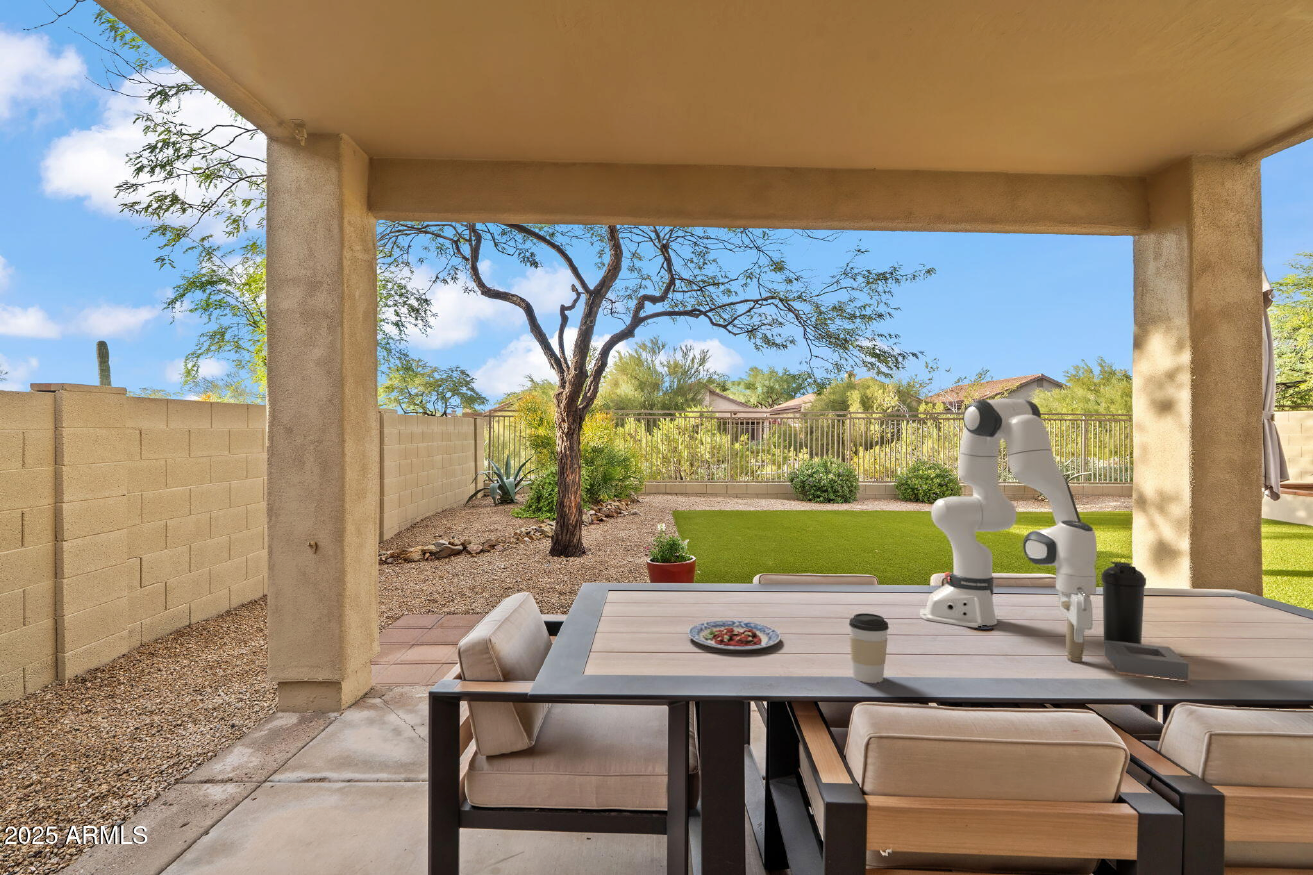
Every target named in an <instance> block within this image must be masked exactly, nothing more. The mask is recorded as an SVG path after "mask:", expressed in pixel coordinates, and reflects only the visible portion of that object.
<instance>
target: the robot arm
mask: <svg viewBox="0 0 1313 875" xmlns="http://www.w3.org/2000/svg"><path fill="white" fill-rule="evenodd" d="M962 420H963V425H964V428H963V432H962V434H961V439H960V445H959V452H958V453H959V456H958V467H957V475H958V477H959V479H960V480H961V481H962V482H963V484H966V485H968V486H969V487H971V488H972V496H959V495H958V496H955V495H953V496H946V497H942V498H938V499H936V500H935V502H934V503H933V504H932V506H931V511H930V515H931V519H932V521H933V523H934V525H935V526H936V527H937V528H938V529H939V530H940V531H942V532H943V534H945V536H946V537H947V539H948V541H949V543H950V545H951V550H952V557H953V558H952V560H953V562H952V563H953V572H949V571H946V572H944V578H945V580H946V581H945V582H946V584H944V585H943V586H942V587H940V588H938V589H937V590H935V591H933V592H931V594H930V595H929V597H928V598H927V603H926V606H925V607H921V608H920V609H919V617H920V618H922V619H923V620H924V621H931V622H937V623H944V624H949V625H956V626H961V627H962V626H963V627H970V628H979V627H978V626H981V625H987V626H988V627H989V626H994V625H997V624H998V619H997V616H996V613H995V607H994V598H993V596H994V592H995V580H994V576H993V553H992V551H991V550H990V548H988V547H987V546H986V545H985V544H982V543H981V542H979V541H978V540H977V536H976V532H999V531H1001V532H1002V531H1005V530H1009V529H1011V528H1012V527H1014V525H1015V523H1016V520H1017V517H1018V514H1017V509H1016V506H1015V505H1014V503H1013V502H1012V501H1011V500H1010V499H1008V498H1007V497H1006V496H1005V494H1004V493H1003V492H1002V490H1001V488H1000V487H1001V486H1000V485H999V484H1000V483H999V479H998V474H999V471H998V470H999V457H1000V443H1001V440H1004V442H1005V446H1006V448H1005V449H1006V453H1007V454H1006V455H1007V459H1008V460H1007V461H1008V466H1009V469H1010V471H1011V474H1012V476H1013V477H1014V478H1015V480H1016V481H1018V482H1019V483H1021V484H1022V485H1024V486H1026V487H1029V488H1032V489H1033V490H1036V491H1037V492H1039V493H1040V494H1042V495H1043V496H1044V497H1045V498H1046V499H1047V501H1048V502H1049V503H1048V504H1049V506H1050V509H1051V512H1052V515H1053V519H1054V521H1055V525H1053V526H1050V527H1047V528H1043V529H1036V530H1032V531H1029V532H1028V533H1027V534H1026V535H1025V537H1024V539H1023V540H1022V541H1023V542H1022V549H1023V553H1024V555H1025V557H1026V558H1027V560H1028V561H1030V562H1031V563H1032V564H1034V565H1039V566H1055V568H1056V570H1055V580H1054V581H1055V589H1056V590H1057V593H1058V594H1057V596H1058V605H1059V609H1060V611H1061V612H1062V613H1063V614H1064V616H1065V621H1066V622H1067V620H1068V619H1069V620H1070V621H1071V623H1072V624H1073V625H1074V628H1075V630H1074V640H1075V641H1076V642H1083V635H1084V636H1085V632H1086V631H1088V630H1089V631H1090V630H1091V631H1092V629H1093V626H1094V625H1093V624H1094V621H1093V620H1094V618H1093V604H1092V600H1091V595H1095V594H1096V593H1097V571H1096V568H1095V567H1096V566H1095V564H1096V561H1097V558H1098V557H1097V556H1098V555H1097V554H1098V553H1097V552H1098V548H1097V547H1098V546H1097V544H1098V543H1097V537H1096V532H1095V530H1094V528H1093V526H1091V525H1090V524H1087V523H1085V522H1082V520H1081V517H1080V514H1079V512H1078V508H1077V505H1076V502H1075V499H1074V496H1073V493H1072V490H1071V487H1070V484H1069V482H1068V480H1067V478H1066V477H1065V475H1064V474H1063V473H1062V472H1061V471H1060V469H1059V467H1058V464H1057V463H1056V460H1055V457H1054V452H1053V448H1052V445H1051V444H1052V443H1051V440H1050V437H1049V434H1048V430H1047V428H1046V426H1045V424H1044V421H1043V420H1042V414H1041V410H1040V407H1039V406H1038V405H1037V403H1035V402H1033V401H1031V400H1027V399H1023V398H1020V399H1019V398H1018V399H1014V398H999V399H989V400H988V399H987V400H985V399H981V400H980V399H979V400H976V401H973V402H971V403H969V404H968V405H967V406H966V407H965V408H964V411H963V417H962ZM1061 601H1068V602H1069V604H1070V605H1071V606H1070V609H1069V611H1067V610H1066V609H1064V608H1063V607H1062V606H1061ZM1083 610H1084V611H1083ZM987 626H986V627H987ZM981 627H982V626H981ZM1085 630H1086V631H1085Z"/></svg>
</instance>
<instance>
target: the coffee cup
mask: <svg viewBox="0 0 1313 875" xmlns="http://www.w3.org/2000/svg"><path fill="white" fill-rule="evenodd" d="M848 626H849V630H850V631H849V632H850V633H849V641H850V642H849V643H850V658H851V659H850V660H851V665H852V667H851V668H852V677H853V679H854V680H856V681H859V682H861V681H862V682H861V683H866V684H878V683H877V682H879V683H882V682H883V681H884V674H885V665H886V658H887V657H886V656H887V649H888V648H887V647H888V631H889V629H890V627H889V623H888V621H887V620H885V618H884V617H883V616H882V615H880V614H875V613H866V612H865V613H863V612H861V613H856V614H854V615H853V617H851V618H850V619H849V623H848ZM881 681H882V682H881Z"/></svg>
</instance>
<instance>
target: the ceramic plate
mask: <svg viewBox="0 0 1313 875" xmlns="http://www.w3.org/2000/svg"><path fill="white" fill-rule="evenodd" d="M688 636H689V637H690V638H691V639H692V640H693V641H695V642H697V643H699V644H702V645H705V646H707V647H708V646H709V647H712V648H716V649H721V650H727V651H728V650H729V651H749V650H756V649H757V650H758V649H763V648H768V647H771V646H773V645H775V644H777V643H778V642H779V641H780V640H781V636H782V635H781V634H780V633H779V631H778V630H776V629H774V628H773V627H771V626H768V625H765V624H762V623H757V622H752V621H747V620H736V619H734V620H733V619H727V620H726V619H724V620H723V619H722V620H710V621H705V622H701V623H697V624H696V625H695V624H694V625H693V626H692V627H690V628H689V629H688Z"/></svg>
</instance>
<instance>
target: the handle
mask: <svg viewBox="0 0 1313 875" xmlns="http://www.w3.org/2000/svg"><path fill="white" fill-rule="evenodd" d="M1061 606H1062V607H1063V608H1064V609H1066V610H1067V611H1069V609H1070V606H1071V605H1070V604H1069V602H1068V601H1061ZM1083 611H1084V610H1083ZM1074 630H1075V628H1074V625H1073V624H1072V623H1071V621H1070V620H1069V619H1068V620H1067V621H1066V635H1065V646H1066V653H1067V654H1066V659H1067V660H1068V661H1070V662H1071V663H1073V662H1074V663H1081V662H1082V661H1083V654H1084V648H1085V634H1084V635H1083V642H1076V641H1075V640H1074Z"/></svg>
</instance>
